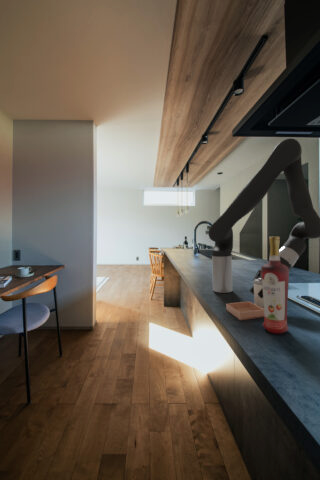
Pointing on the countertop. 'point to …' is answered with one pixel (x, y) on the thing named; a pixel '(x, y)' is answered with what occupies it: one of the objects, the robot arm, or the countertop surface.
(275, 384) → the countertop surface
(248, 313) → the dish
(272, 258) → the liquor
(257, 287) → the battery cell
